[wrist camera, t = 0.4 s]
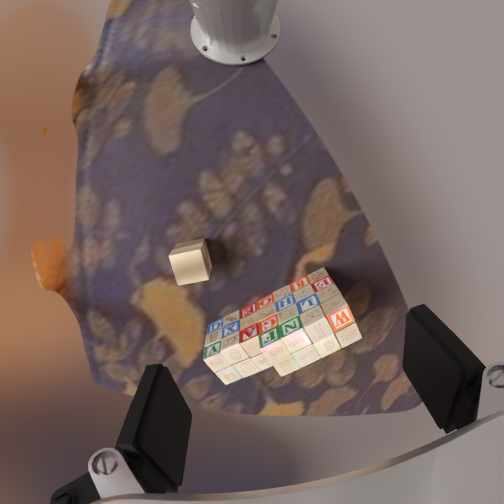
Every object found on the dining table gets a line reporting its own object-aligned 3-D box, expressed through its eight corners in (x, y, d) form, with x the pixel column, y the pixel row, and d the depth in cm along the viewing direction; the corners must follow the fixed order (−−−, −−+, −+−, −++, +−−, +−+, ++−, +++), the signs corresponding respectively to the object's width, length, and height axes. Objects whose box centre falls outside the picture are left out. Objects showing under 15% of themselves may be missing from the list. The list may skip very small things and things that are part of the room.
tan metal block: (176, 244, 44) (168, 255, 39) (204, 237, 44) (200, 249, 39) (184, 271, 45) (178, 285, 41) (212, 265, 45) (208, 279, 40)
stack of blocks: (227, 349, 51) (223, 399, 39) (207, 323, 49) (199, 373, 37) (338, 295, 48) (363, 338, 36) (324, 265, 46) (349, 304, 34)
